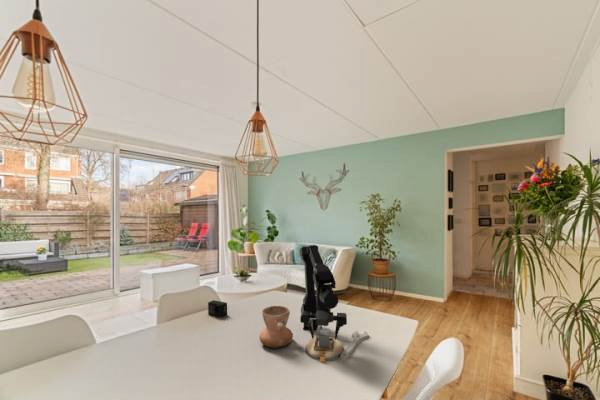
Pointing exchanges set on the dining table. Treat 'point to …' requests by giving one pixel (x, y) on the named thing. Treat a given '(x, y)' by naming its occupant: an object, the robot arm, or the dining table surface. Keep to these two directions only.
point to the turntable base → (323, 357)
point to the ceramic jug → (276, 327)
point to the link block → (324, 339)
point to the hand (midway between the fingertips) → (324, 338)
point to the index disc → (330, 352)
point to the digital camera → (217, 308)
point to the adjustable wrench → (353, 344)
